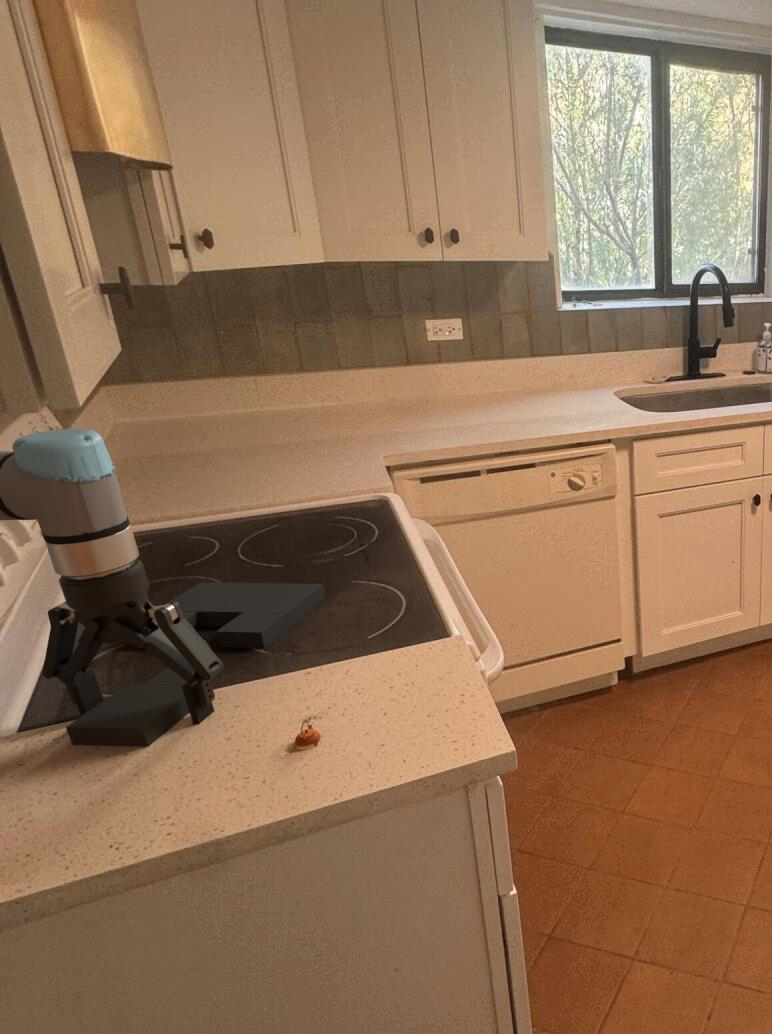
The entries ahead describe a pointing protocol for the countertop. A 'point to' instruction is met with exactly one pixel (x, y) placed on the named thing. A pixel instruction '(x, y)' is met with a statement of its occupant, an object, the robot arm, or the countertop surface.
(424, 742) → the countertop surface
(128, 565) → the robot arm
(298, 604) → the notch pad
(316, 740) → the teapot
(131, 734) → the pad
